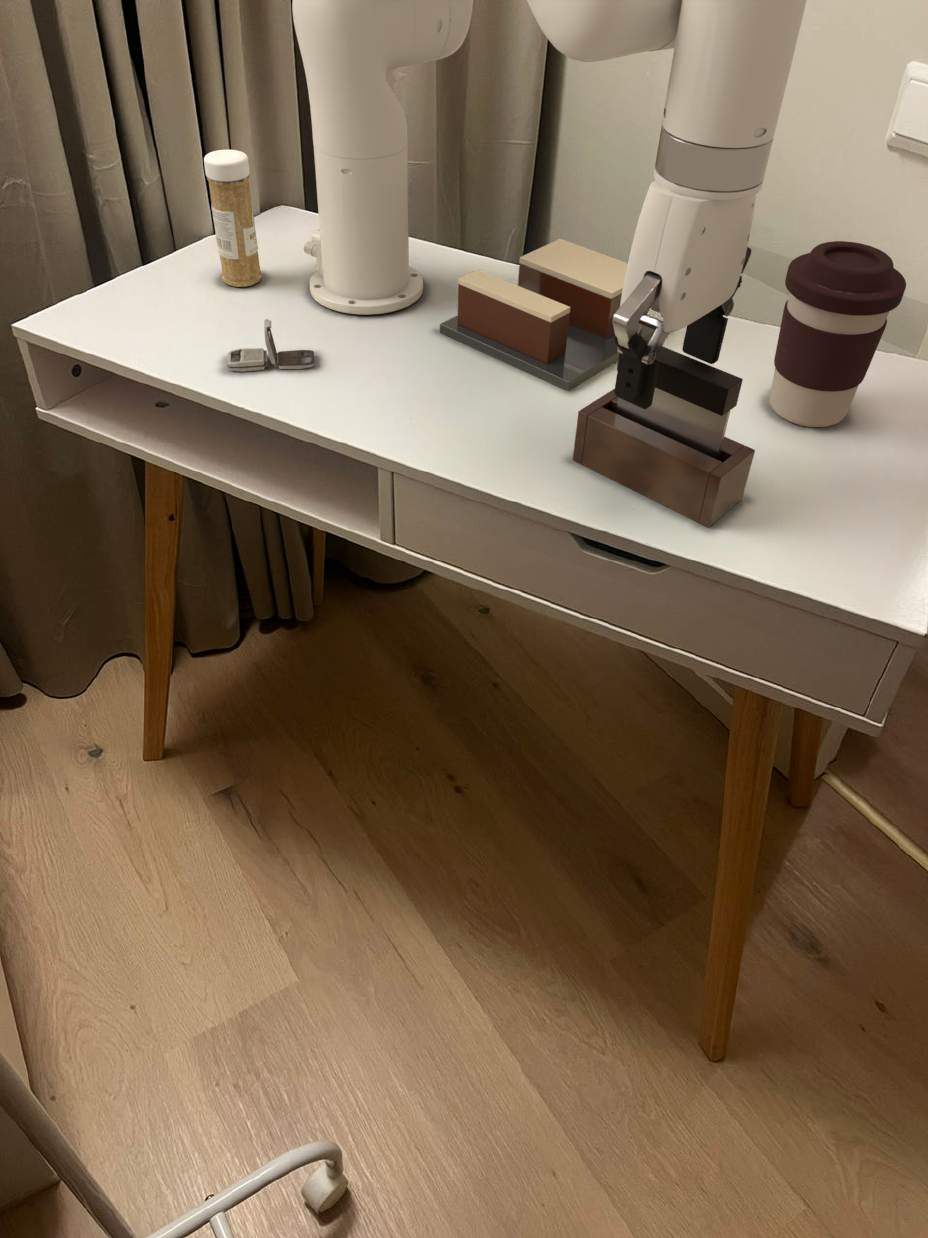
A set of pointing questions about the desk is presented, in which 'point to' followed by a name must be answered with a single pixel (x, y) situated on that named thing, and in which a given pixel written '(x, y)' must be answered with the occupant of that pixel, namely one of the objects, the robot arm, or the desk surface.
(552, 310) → the cake slice
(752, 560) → the desk surface
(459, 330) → the cake board
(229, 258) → the sprinkles bottle
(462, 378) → the desk surface
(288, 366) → the strap clip
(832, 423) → the coffee cup
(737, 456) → the block
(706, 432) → the bench scraper
